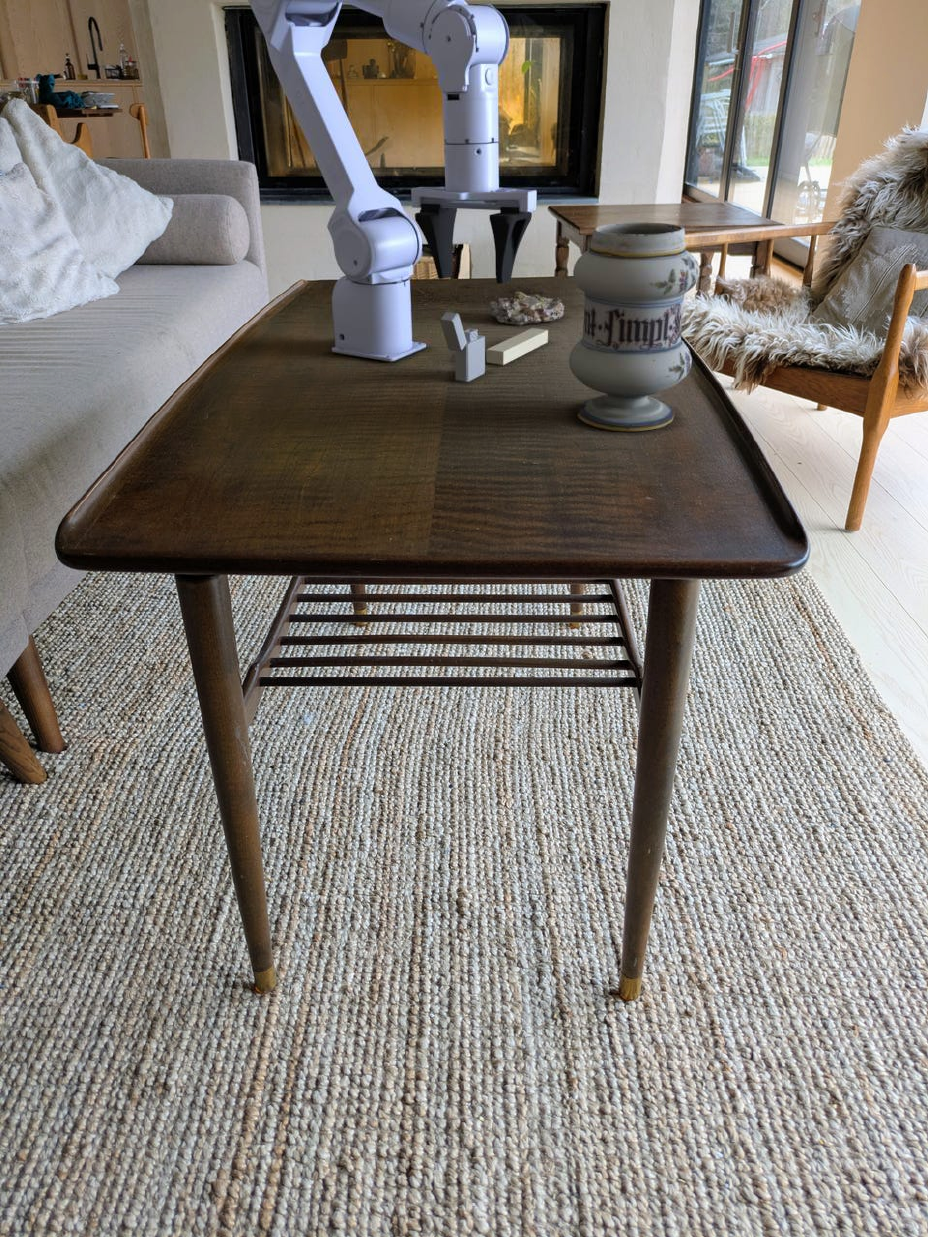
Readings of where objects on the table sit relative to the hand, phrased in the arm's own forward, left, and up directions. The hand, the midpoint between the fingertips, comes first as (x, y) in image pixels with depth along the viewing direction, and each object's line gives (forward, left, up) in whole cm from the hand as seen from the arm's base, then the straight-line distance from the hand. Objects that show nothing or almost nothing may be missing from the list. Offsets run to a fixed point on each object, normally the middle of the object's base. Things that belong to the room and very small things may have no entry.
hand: (474, 279), depth 101 cm
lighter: (0, -3, -11) cm, 11 cm away
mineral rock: (-7, +26, -11) cm, 29 cm away
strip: (0, +10, -10) cm, 14 cm away
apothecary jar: (+21, -6, -11) cm, 25 cm away
